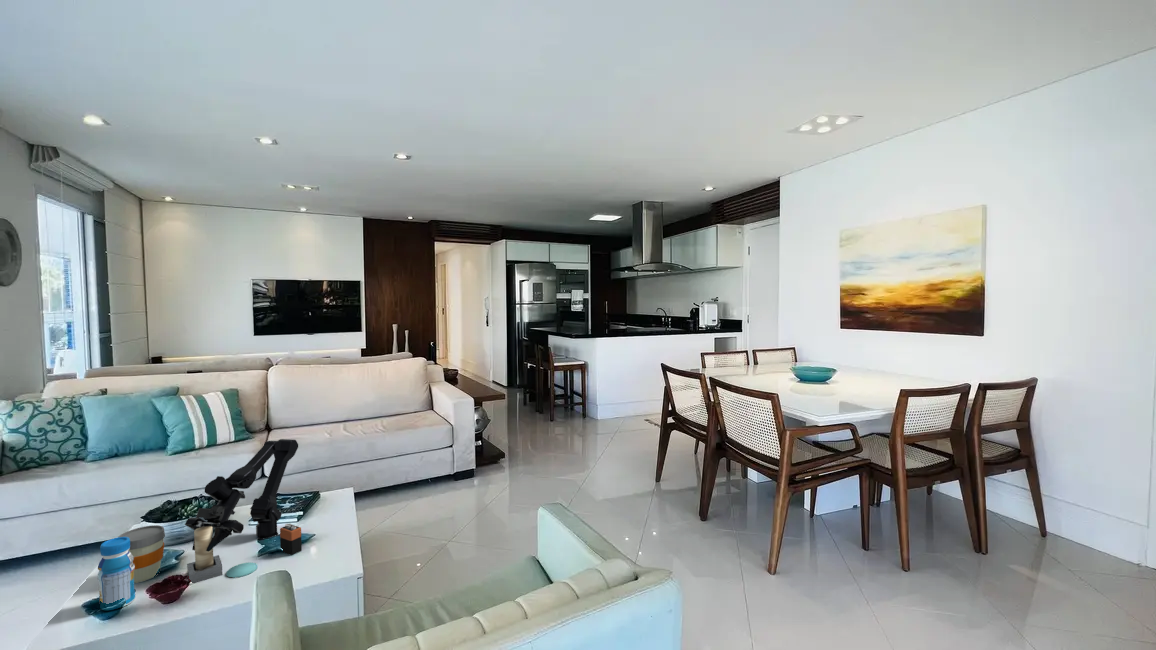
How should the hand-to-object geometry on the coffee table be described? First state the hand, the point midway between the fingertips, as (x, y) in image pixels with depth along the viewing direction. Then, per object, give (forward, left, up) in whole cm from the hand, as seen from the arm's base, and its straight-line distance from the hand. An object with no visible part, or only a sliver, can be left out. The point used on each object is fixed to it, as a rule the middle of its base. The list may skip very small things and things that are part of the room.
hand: (200, 550), depth 168 cm
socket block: (-1, -1, -9) cm, 9 cm away
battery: (-27, +1, -9) cm, 29 cm away
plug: (-1, -1, -8) cm, 8 cm away
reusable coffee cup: (+15, -14, -9) cm, 22 cm away
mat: (-11, +5, -9) cm, 15 cm away
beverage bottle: (+21, +2, -9) cm, 23 cm away
